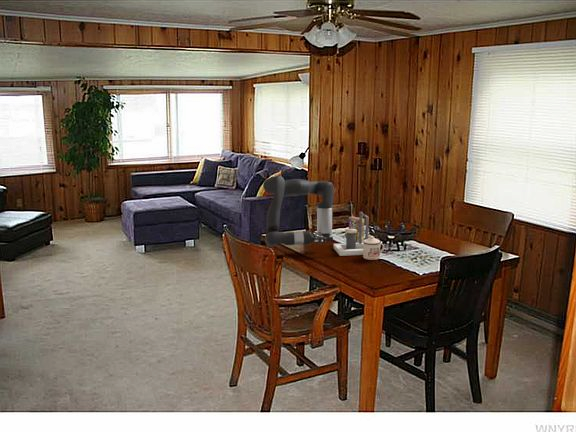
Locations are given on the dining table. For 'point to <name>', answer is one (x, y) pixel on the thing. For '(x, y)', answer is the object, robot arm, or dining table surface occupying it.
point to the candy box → (356, 227)
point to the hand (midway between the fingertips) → (331, 237)
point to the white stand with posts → (342, 246)
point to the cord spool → (350, 238)
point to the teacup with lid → (372, 248)
